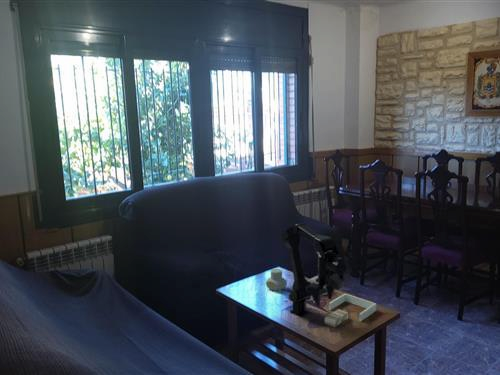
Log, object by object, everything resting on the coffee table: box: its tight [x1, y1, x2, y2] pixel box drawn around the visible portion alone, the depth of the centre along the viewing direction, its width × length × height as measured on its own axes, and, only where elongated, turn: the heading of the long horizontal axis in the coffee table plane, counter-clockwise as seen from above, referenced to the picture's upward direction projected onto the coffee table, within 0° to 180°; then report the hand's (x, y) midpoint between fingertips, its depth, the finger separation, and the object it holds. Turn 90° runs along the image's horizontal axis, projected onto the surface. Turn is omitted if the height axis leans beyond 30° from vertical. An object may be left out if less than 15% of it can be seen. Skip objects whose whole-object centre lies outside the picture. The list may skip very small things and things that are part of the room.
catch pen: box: [328, 293, 377, 322], centre depth 199 cm, size 14×17×4 cm
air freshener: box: [265, 268, 288, 292], centre depth 223 cm, size 11×8×10 cm
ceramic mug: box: [307, 275, 328, 296], centre depth 219 cm, size 11×8×8 cm
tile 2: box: [331, 308, 349, 323], centre depth 191 cm, size 5×5×3 cm
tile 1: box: [324, 313, 342, 328], centre depth 187 cm, size 5×5×3 cm
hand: (324, 302), depth 180 cm, fingers open, 9 cm apart
